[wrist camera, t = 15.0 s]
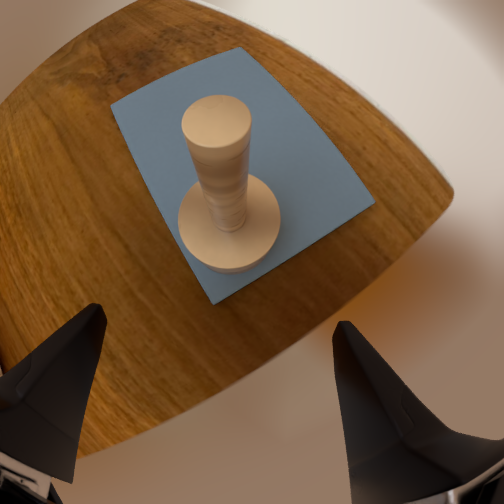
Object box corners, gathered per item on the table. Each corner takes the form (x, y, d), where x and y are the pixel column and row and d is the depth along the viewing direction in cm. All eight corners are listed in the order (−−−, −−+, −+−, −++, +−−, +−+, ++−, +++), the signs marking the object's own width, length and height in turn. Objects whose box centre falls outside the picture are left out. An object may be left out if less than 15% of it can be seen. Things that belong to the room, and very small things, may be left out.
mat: (372, 204, 20) (376, 201, 19) (214, 305, 18) (213, 305, 17) (240, 50, 22) (240, 46, 21) (112, 109, 20) (109, 105, 20)
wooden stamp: (253, 288, 17) (278, 266, 6) (175, 253, 18) (76, 177, 6) (285, 212, 18) (346, 90, 7) (211, 181, 19) (181, 42, 7)
